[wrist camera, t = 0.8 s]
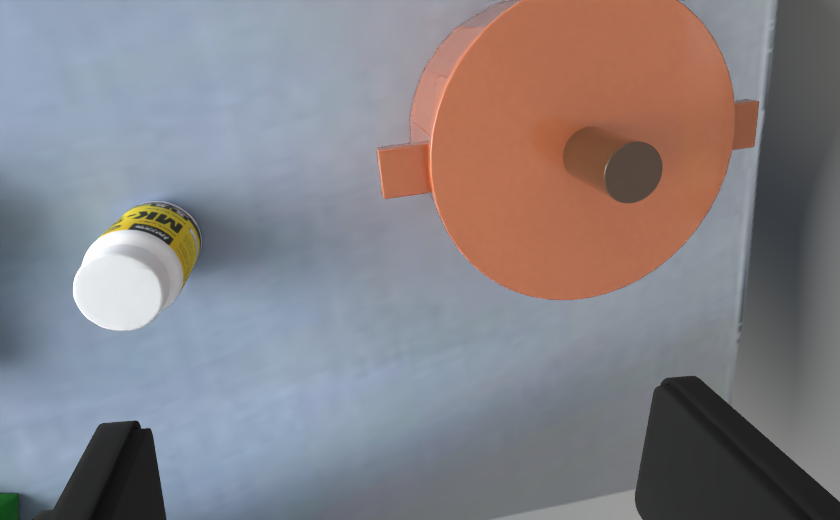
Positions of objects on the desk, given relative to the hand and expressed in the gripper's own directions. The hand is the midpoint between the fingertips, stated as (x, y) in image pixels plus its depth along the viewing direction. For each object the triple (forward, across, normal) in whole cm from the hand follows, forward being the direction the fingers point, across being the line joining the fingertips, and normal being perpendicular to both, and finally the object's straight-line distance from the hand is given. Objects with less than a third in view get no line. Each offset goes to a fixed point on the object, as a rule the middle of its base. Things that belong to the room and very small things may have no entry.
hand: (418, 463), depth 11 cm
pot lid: (+19, -11, -2) cm, 22 cm away
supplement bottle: (+27, +11, +4) cm, 30 cm away
